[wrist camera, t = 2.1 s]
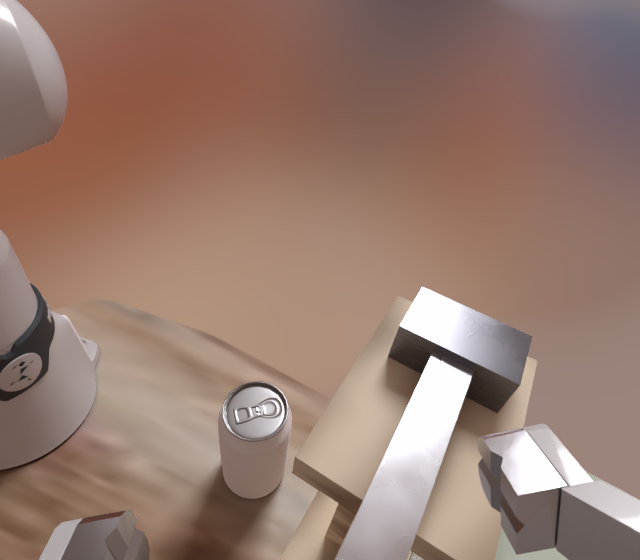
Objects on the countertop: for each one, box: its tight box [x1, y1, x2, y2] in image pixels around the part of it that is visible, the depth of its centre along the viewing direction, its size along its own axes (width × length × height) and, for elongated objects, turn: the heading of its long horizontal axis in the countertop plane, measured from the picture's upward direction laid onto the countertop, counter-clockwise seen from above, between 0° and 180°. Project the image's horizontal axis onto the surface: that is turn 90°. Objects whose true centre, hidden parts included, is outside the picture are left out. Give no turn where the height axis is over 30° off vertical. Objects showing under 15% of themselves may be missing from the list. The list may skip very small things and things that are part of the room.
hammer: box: [334, 287, 532, 560], centre depth 20 cm, size 7×22×3 cm, turn 150°
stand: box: [280, 296, 537, 560], centre depth 32 cm, size 10×14×24 cm
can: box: [218, 381, 292, 499], centre depth 40 cm, size 6×6×12 cm
